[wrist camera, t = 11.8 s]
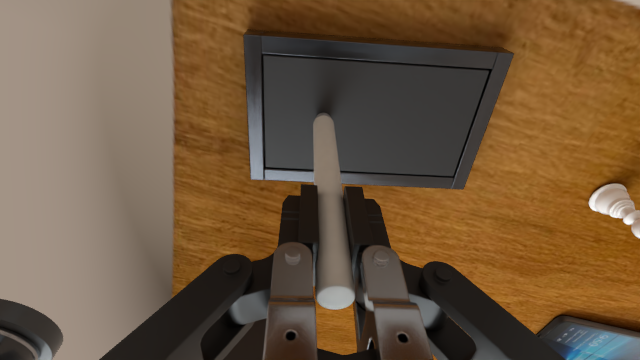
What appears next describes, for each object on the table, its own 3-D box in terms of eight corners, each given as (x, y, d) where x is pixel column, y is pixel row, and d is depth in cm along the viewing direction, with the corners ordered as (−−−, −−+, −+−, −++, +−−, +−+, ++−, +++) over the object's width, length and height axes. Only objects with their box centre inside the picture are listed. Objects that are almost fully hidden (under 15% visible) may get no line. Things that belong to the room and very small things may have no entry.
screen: (266, 163, 25) (265, 167, 25) (264, 52, 21) (263, 55, 20) (451, 173, 26) (453, 176, 25) (486, 68, 22) (489, 70, 21)
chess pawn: (579, 205, 29) (624, 248, 25) (604, 178, 28) (656, 219, 23) (606, 212, 30) (654, 255, 26) (632, 186, 28) (687, 228, 24)
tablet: (253, 168, 26) (250, 180, 25) (247, 28, 21) (243, 34, 20) (456, 178, 27) (463, 189, 26) (503, 47, 22) (514, 53, 21)
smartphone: (566, 324, 36) (679, 346, 39) (559, 313, 38) (668, 334, 40) (523, 361, 40) (628, 379, 43) (518, 350, 42) (620, 368, 44)
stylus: (312, 126, 23) (314, 310, 11) (313, 108, 22) (317, 284, 11) (331, 127, 23) (353, 311, 11) (333, 109, 22) (358, 285, 11)
